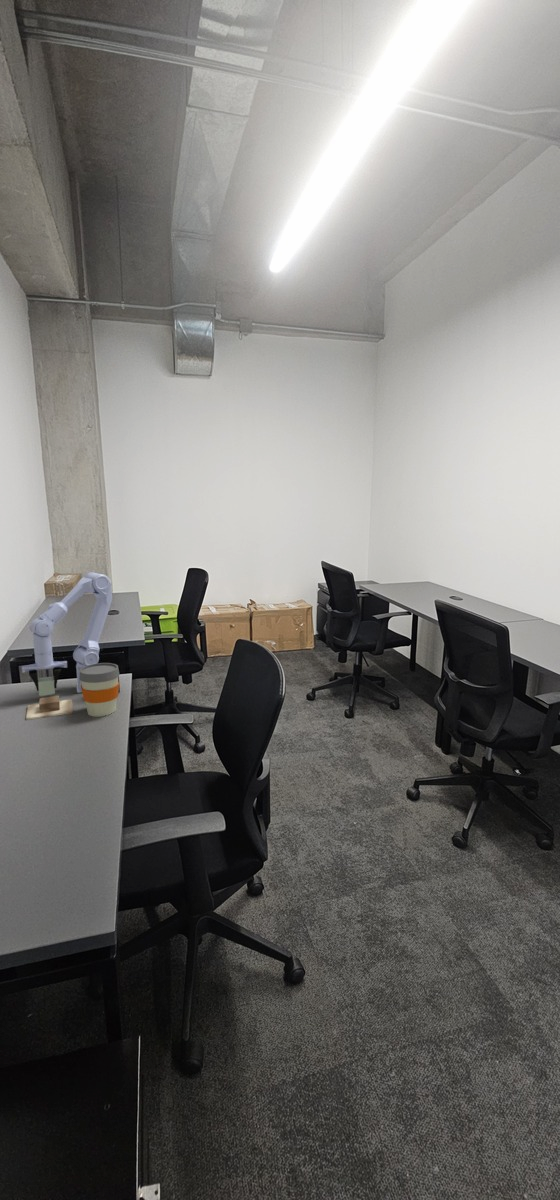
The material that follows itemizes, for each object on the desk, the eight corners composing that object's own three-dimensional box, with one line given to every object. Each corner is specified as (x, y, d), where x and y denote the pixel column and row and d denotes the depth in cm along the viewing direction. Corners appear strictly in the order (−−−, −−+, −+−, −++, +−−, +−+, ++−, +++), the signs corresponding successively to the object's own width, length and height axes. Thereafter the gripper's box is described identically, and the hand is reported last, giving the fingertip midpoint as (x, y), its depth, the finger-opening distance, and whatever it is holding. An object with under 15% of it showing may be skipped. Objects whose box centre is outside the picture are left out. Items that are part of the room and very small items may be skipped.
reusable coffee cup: (96, 722, 161) (93, 677, 158) (74, 712, 168) (71, 669, 166) (129, 709, 171) (126, 667, 168) (107, 701, 178) (104, 660, 176)
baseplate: (71, 700, 179) (71, 691, 178) (72, 713, 168) (72, 702, 167) (28, 706, 173) (27, 696, 172) (26, 720, 162) (25, 709, 162)
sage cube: (54, 689, 184) (53, 676, 183) (54, 693, 179) (53, 680, 178) (39, 691, 182) (38, 678, 181) (39, 696, 177) (38, 682, 176)
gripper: (65, 647, 184) (68, 682, 187) (21, 651, 179) (24, 688, 181) (65, 652, 178) (68, 688, 180) (20, 657, 172) (23, 694, 175)
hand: (46, 688), depth 180 cm, fingers closed on sage cube, 5 cm apart
